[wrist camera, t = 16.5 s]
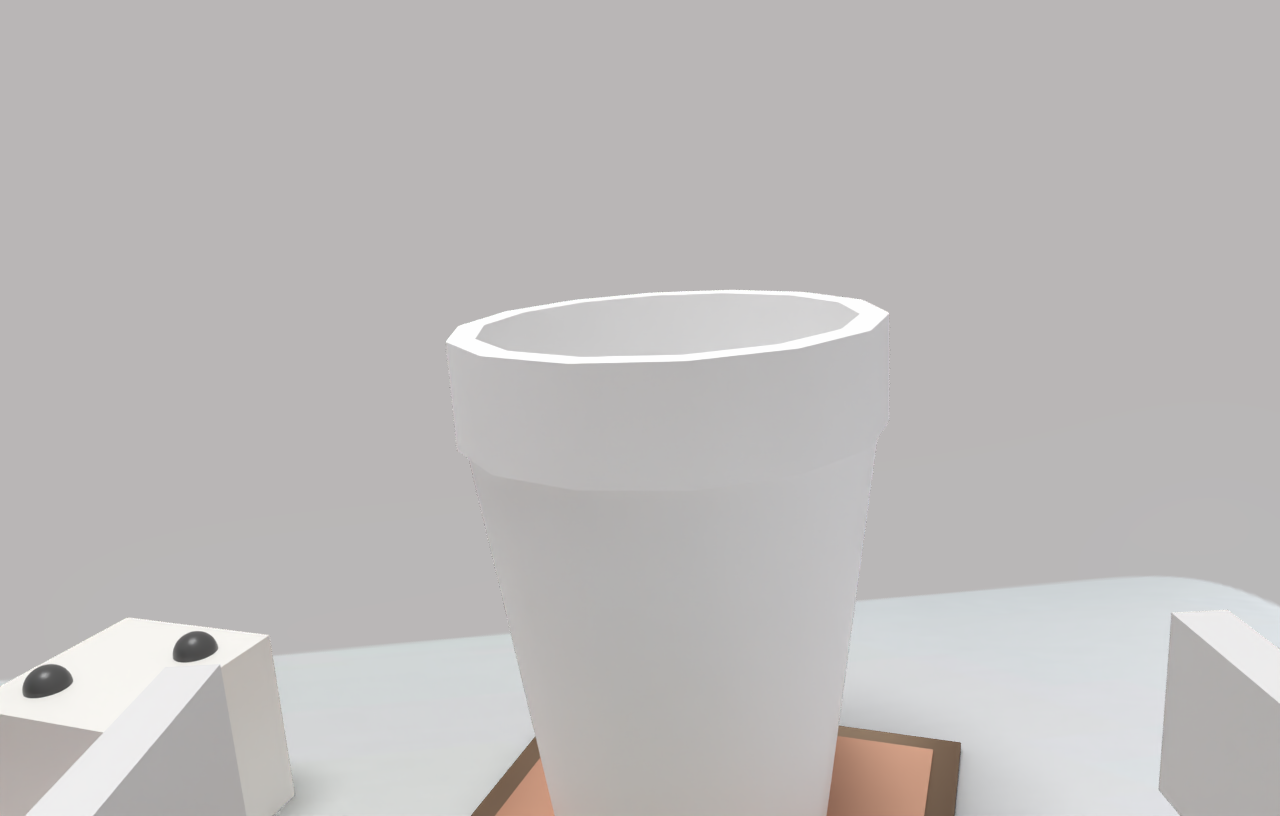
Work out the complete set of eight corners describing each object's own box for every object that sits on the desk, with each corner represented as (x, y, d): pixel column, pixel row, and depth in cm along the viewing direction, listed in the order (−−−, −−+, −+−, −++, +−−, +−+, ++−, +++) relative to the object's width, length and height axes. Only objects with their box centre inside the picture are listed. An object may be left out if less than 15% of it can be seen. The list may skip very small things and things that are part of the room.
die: (4, 884, 25) (-44, 686, 24) (157, 771, 30) (123, 599, 29) (158, 924, 24) (115, 713, 22) (295, 798, 28) (266, 616, 27)
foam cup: (535, 1039, 19) (470, 385, 16) (479, 773, 28) (429, 313, 25) (967, 919, 22) (981, 328, 19) (791, 708, 30) (781, 280, 27)
